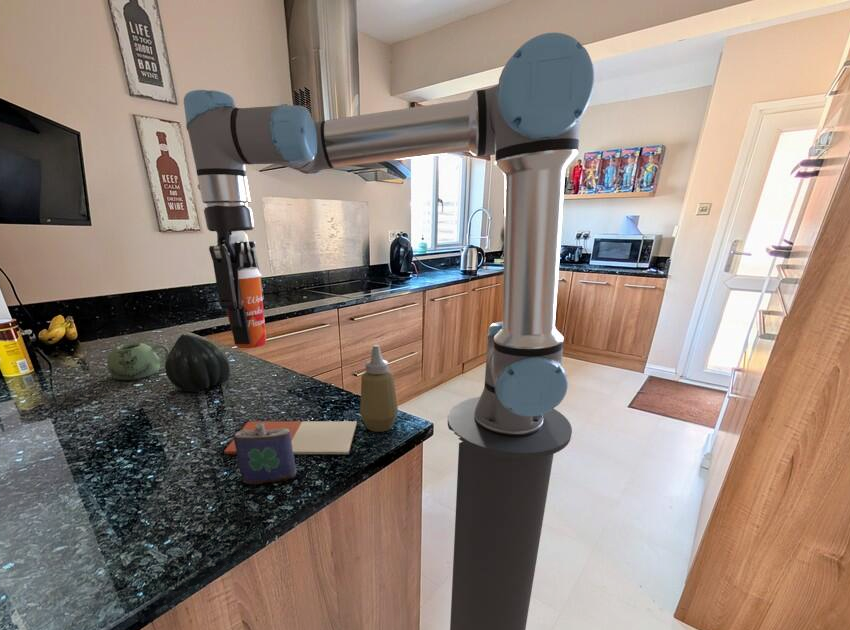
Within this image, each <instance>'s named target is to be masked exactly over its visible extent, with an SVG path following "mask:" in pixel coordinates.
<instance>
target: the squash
mask: <svg viewBox="0 0 850 630" xmlns="http://www.w3.org/2000/svg"><path fill="white" fill-rule="evenodd" d="M169 352H170V353H169V354H168V356H167V358H166V360H165V361H164V362H165V363H164V367H165V368H164V370H165V374H166V376H167V378H168V380H169V381H170V382H171V384H172V385H174V387H176V388H177V389H179V390H181V391H187V392H190V393H198V392H200V391H201V390H202V389H208V388H209V387H210V386H221V385H223V384H224V383H226V382H227V381H228V380H229V378H230V376H231V375H230V374H231V365H230V362H229V359H228V357H227V355H226V353H224V351H223V350H222V348H220V347H219V346H218V345H217V344H216V343H214V342H213V341H209V340H207V339H205V338H201V337H199V336H198V337H197V336H194V335H192V334H191V335H190V334H185V333H183V334H181V335H180V336H179V337H178V338H177V340H176V341H175V343H174V345H173V346H172V348H171V349H170V350H169Z"/></svg>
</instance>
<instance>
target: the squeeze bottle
mask: <svg viewBox="0 0 850 630" xmlns="http://www.w3.org/2000/svg"><path fill="white" fill-rule="evenodd" d="M360 382H361V383H360V404H359V405H360V406H359V414H360V416H361V419H362V422H363V423H364V426H365V427H366V429H367V430H369V431H370V432H374V433H375V432H376V433H383V432H387V431H390V430H391V429H392V428H393V427H394V424H395V422H396V419H397V417H398V413H399V410H398V408H399V407H398V401H397V394H396V386H395V377H394V373H393V372H392V371H390V369H389V361H387V360H385V359H383V355H382V351H381V348H380V345H379V344H374V345H373V346H372V351H371V357H370V360H368V361H366V362H365V371H364V372H362V374H361V381H360Z"/></svg>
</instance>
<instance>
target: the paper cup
mask: <svg viewBox="0 0 850 630" xmlns="http://www.w3.org/2000/svg"><path fill="white" fill-rule="evenodd" d="M259 271H260V269H259V270H258V269H257V268H256V267H250V268H243V269H241V270H240V271H238V275H239V277H238V279H239V282H240V287H241V296H242V308H245V311H246V317H247V323H248V329H249V334H250V340H251V343H250V344H235V347H237V348H239V349H254V348H259V347H263V346H265V345H266V344H267V333H266V323H265V322H266V320H265V312H264V311H265V310H264V301H263V300H264V299H262V290H261V282H262V279H261V280H260V277H262V276H263V274H262V273H261V272H260V273H259ZM233 279H234V278H233ZM225 312H226V315H227V318H228V322H229V326H230V329H231V333H232V334H233V332H232V327H231V321H230V316H229V311H228V309H225Z"/></svg>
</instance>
